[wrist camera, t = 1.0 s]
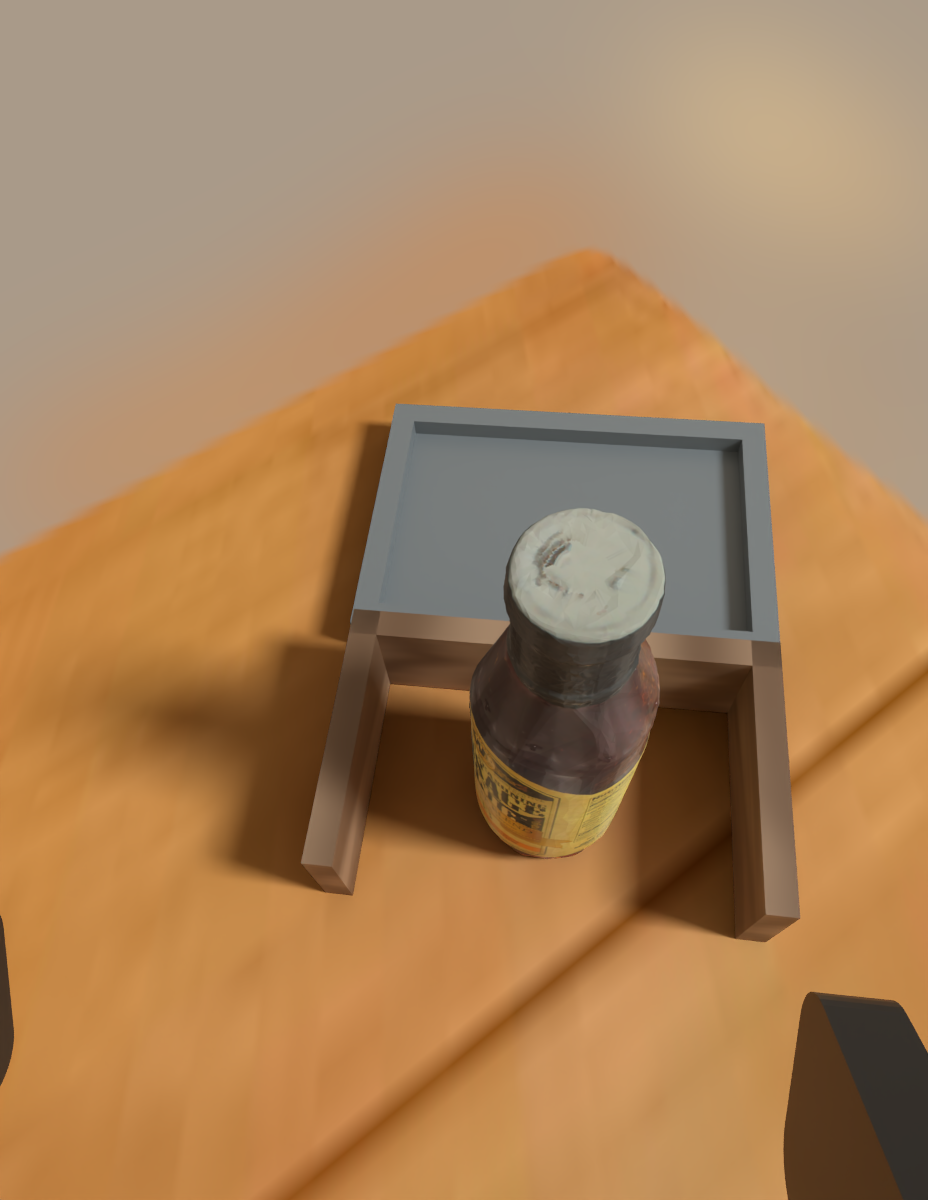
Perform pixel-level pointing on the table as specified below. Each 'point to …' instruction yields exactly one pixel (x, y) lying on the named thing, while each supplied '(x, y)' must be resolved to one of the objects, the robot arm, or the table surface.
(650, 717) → the sauce bottle
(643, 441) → the tray
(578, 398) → the table surface
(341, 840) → the holder
